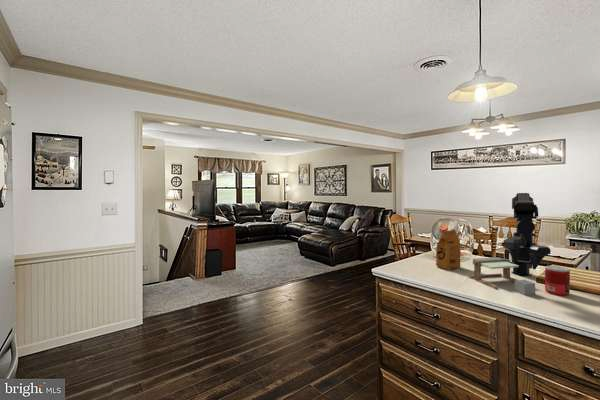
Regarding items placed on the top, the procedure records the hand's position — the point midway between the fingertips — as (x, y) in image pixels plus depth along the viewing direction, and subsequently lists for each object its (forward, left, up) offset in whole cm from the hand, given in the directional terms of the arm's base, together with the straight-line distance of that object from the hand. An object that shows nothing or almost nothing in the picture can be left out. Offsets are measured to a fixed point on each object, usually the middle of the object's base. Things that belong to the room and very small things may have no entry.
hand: (524, 266), depth 126 cm
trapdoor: (0, -17, -5) cm, 17 cm away
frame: (0, -15, -12) cm, 19 cm away
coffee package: (+7, -43, -12) cm, 46 cm away
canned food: (-13, +3, -12) cm, 18 cm away
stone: (0, 0, -12) cm, 12 cm away
